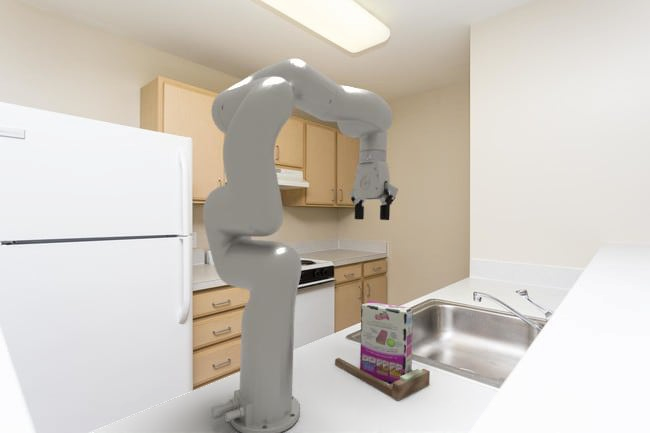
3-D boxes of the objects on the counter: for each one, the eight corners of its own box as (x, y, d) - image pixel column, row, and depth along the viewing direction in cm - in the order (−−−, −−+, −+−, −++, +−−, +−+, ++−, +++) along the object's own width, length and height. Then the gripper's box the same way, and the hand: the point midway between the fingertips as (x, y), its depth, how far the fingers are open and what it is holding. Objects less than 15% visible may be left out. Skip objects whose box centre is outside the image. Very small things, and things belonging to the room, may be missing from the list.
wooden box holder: (398, 400, 64) (398, 382, 65) (335, 365, 80) (335, 350, 80) (429, 384, 71) (429, 368, 71) (365, 354, 86) (366, 341, 87)
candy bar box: (412, 379, 74) (414, 307, 74) (404, 388, 69) (406, 312, 70) (368, 366, 80) (369, 299, 80) (358, 373, 76) (360, 303, 76)
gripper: (342, 161, 95) (341, 218, 95) (388, 152, 82) (386, 220, 82) (360, 164, 100) (358, 219, 100) (406, 157, 86) (404, 220, 86)
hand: (371, 219), depth 91 cm, fingers open, 9 cm apart
